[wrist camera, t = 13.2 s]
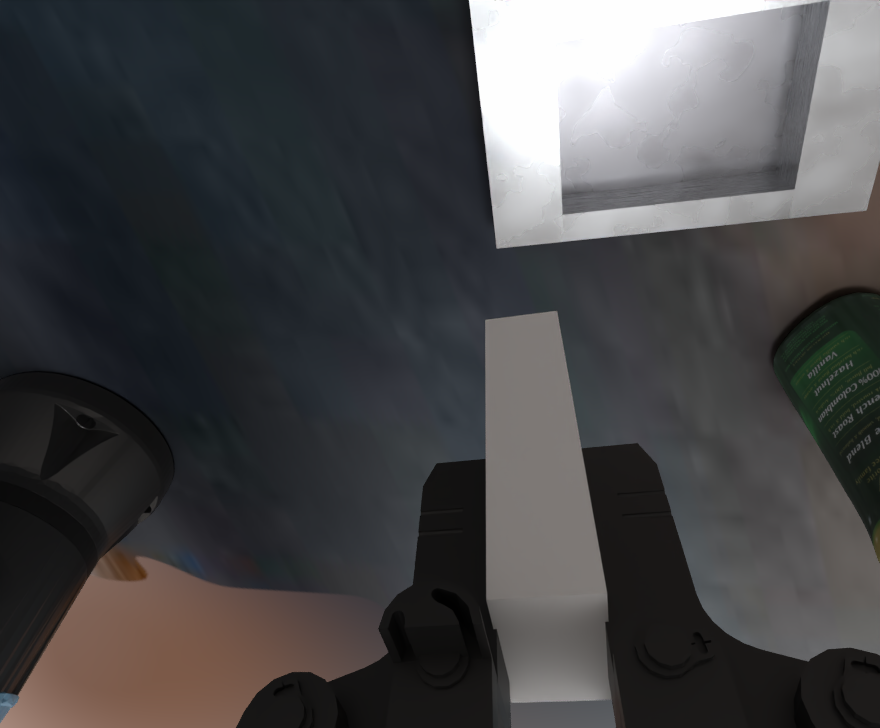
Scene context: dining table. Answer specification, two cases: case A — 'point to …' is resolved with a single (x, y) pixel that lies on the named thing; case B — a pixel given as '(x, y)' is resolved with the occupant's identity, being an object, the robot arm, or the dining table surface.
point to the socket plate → (674, 113)
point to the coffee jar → (841, 394)
